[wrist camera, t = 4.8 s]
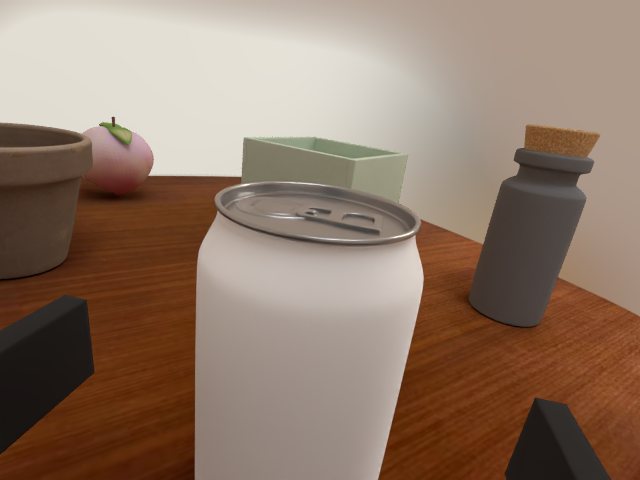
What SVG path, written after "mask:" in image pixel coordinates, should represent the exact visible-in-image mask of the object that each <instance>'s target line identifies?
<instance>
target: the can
mask: <svg viewBox="0 0 640 480" xmlns="http://www.w3.org/2000/svg"><path fill="white" fill-rule="evenodd" d="M214 202H215V207H216V209H217V210H218V211H217V215H216V218H215V220H214V222H213V224H212V225H211V227H210V229H209V231H208V233H207V234H206V236H205V238H204V240H203V242H202V244H201V247H200V250H199V254H198V262H197V287H196V363H195V480H378V477H379V473H380V469H381V465H382V461H383V457H384V452H385V448H386V444H387V440H388V436H389V432H390V428H391V423H392V419H393V415H394V411H395V407H396V403H397V398H398V394H399V390H400V386H401V382H402V378H403V373H404V369H405V365H406V361H407V356H408V352H409V348H410V344H411V339H412V335H413V331H414V326H415V322H416V318H417V313H418V309H419V304H420V299H421V294H422V289H423V280H424V277H423V269H422V265H421V261H420V257H419V253H418V250H417V246H416V241H415V236H416V234H417V233H418V232H419V230H420V228H421V221H420V219H419V217H418V216H417V215H416V214H415V213H414V212H413V211H411V210H410V209H409V208H407V207H405V206H403V205H401V204H399V203H397V202H394V201H392V200H389V199H387V198H384V197H381V196H377V195H374V194H371V193H367V192H363V191H359V190H354V189H349V188H344V187H338V186H332V185H325V184H317V183H307V182H292V181H263V182H251V183H244V184H239V185H234V186H231V187H228V188H225V189H223V190H222V191H220V192H219V193H218V194H217V195H216V197H215V200H214Z"/></svg>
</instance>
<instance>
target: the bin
mask: <svg viewBox="0 0 640 480" xmlns="http://www.w3.org/2000/svg"><path fill="white" fill-rule="evenodd" d="M407 158H408V154H405V153H399V152H394V151H389V150H383V149H377V148H372V147H366V146H361V145H356V144H350V143H344V142H339V141H334V140H328V139H322V138H317V137H244V143H243V163H242V183H241V184H244V183H251V182H263V181H292V182H307V183H317V184H325V185H332V186H338V187H344V188H349V189H354V190H359V191H363V192H367V193H371V194H374V195H377V196H381V197H384V198H387V199H389V200H392V201H394V202H397V203H399V198H400V193H401V188H402V183H403V178H404V173H405V168H406V163H407Z"/></svg>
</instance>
